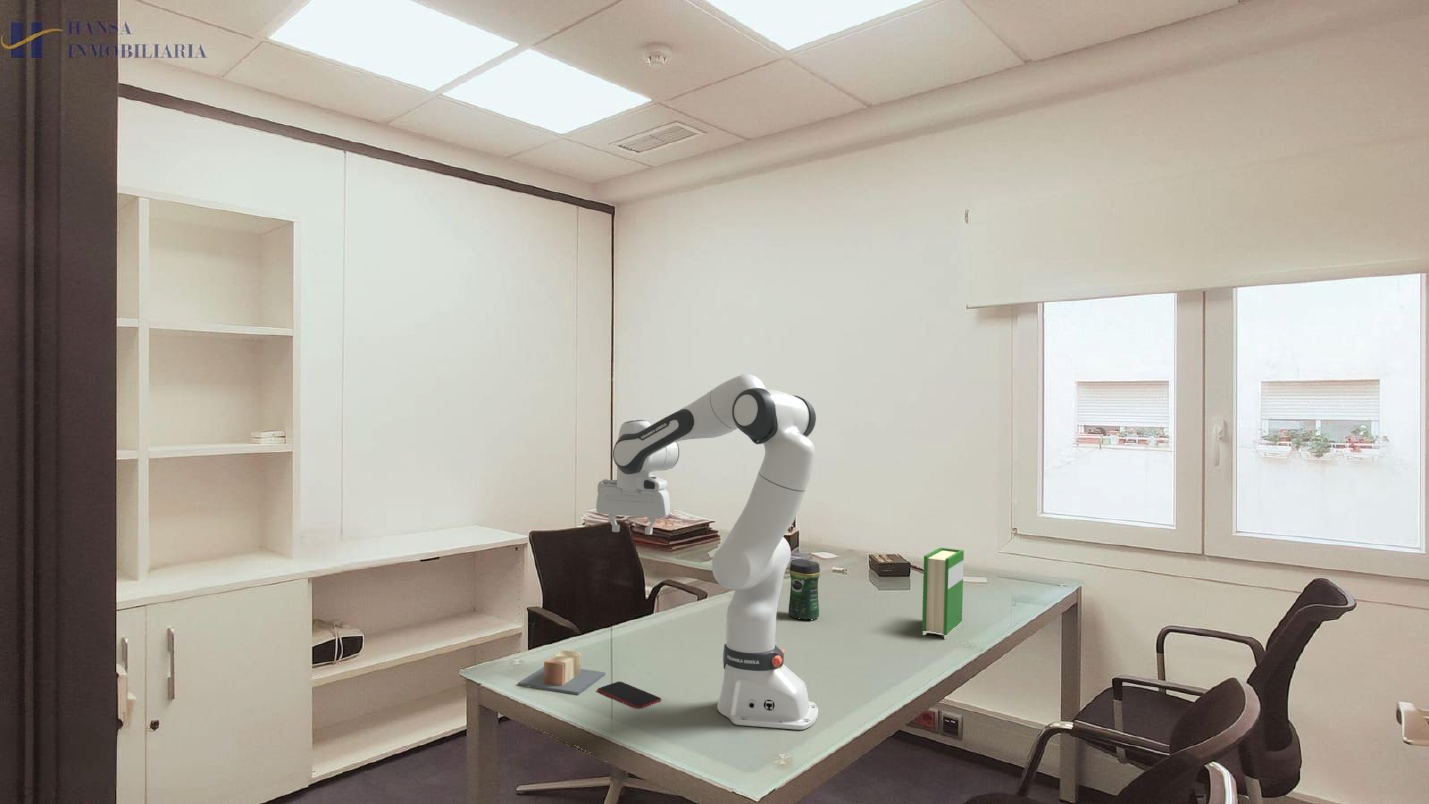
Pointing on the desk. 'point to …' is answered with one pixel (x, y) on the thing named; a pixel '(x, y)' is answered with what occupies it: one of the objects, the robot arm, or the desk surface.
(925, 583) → the hardback book
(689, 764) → the desk surface
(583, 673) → the rubber mat
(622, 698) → the smartphone
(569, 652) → the beech block
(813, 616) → the coffee jar
